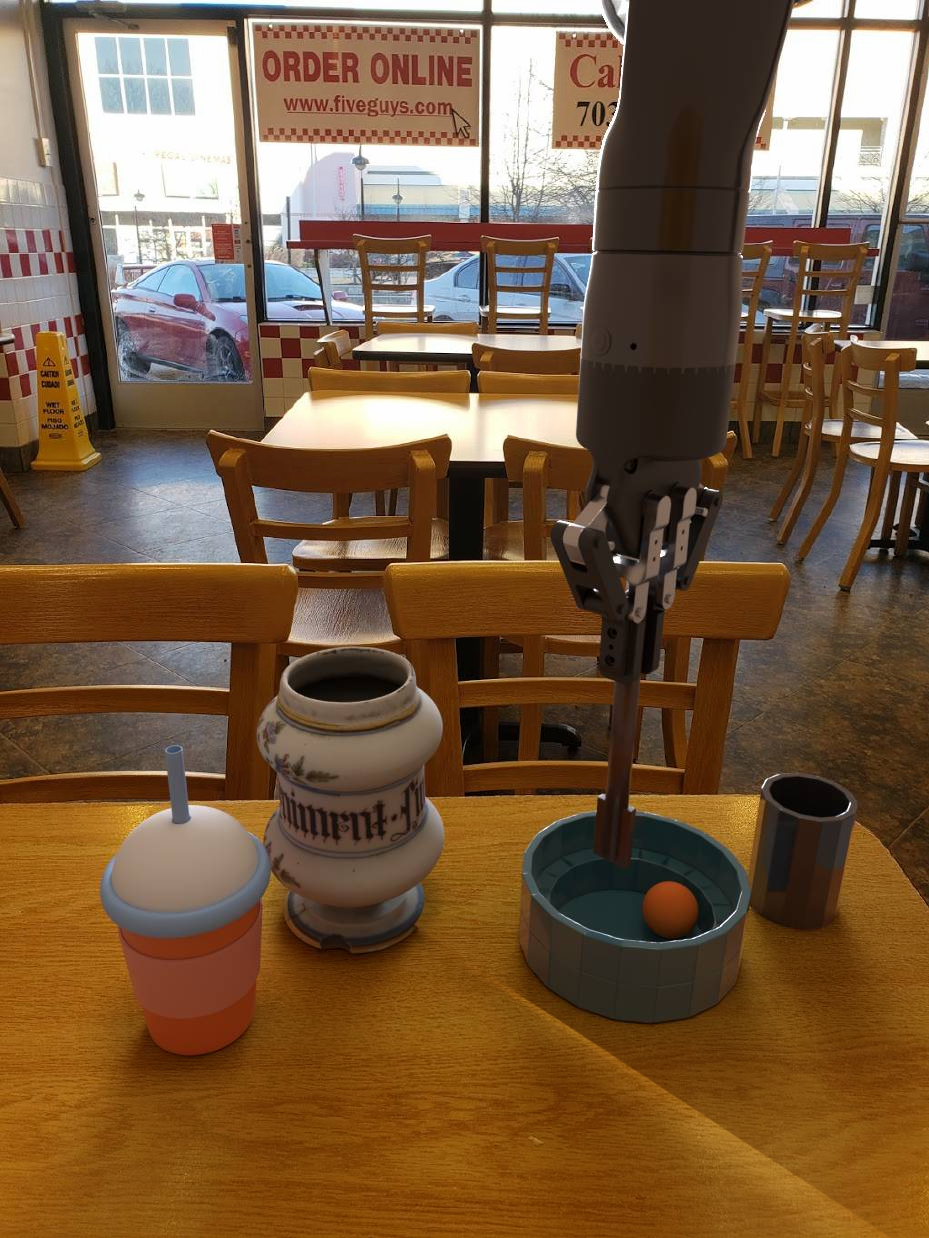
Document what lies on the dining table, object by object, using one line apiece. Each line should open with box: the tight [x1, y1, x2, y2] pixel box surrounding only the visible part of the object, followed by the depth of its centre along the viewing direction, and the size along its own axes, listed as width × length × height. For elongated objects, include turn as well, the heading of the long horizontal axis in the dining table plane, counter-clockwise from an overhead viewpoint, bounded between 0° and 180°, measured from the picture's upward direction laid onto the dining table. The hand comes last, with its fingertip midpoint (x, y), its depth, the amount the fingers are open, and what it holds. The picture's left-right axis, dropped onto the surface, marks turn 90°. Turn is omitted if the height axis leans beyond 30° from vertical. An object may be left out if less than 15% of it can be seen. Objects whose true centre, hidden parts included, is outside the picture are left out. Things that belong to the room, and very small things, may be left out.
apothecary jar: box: [256, 646, 445, 955], centre depth 62 cm, size 12×12×18 cm
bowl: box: [518, 810, 751, 1024], centre depth 61 cm, size 14×14×6 cm
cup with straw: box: [99, 744, 272, 1056], centre depth 52 cm, size 9×9×18 cm
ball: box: [643, 881, 698, 939], centre depth 62 cm, size 4×4×4 cm
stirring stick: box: [593, 590, 648, 869], centre depth 54 cm, size 1×2×17 cm, turn 47°
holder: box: [747, 772, 859, 931], centre depth 64 cm, size 6×6×9 cm
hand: (629, 672), depth 52 cm, fingers closed on stirring stick, 1 cm apart
